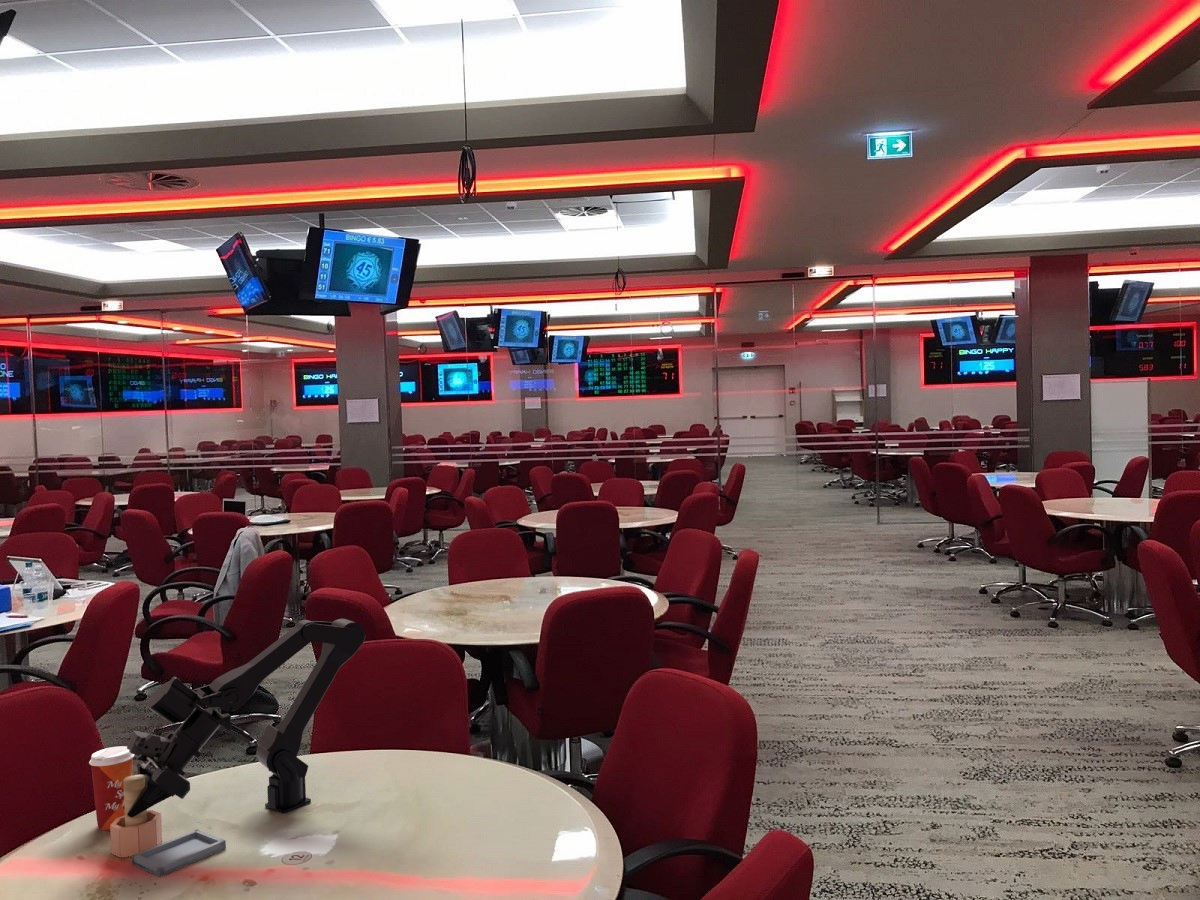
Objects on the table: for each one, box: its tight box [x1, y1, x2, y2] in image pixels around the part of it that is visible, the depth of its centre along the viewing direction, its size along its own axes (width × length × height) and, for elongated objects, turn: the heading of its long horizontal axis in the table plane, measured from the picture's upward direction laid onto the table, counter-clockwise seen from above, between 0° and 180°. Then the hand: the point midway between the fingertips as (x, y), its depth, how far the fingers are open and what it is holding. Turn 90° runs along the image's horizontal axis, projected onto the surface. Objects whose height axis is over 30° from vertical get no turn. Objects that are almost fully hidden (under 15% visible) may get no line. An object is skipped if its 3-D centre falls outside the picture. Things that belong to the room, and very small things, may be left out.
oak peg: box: [123, 774, 148, 827], centre depth 158 cm, size 4×4×12 cm
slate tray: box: [131, 829, 227, 878], centre depth 154 cm, size 12×9×2 cm
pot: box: [109, 809, 163, 858], centre depth 158 cm, size 8×8×5 cm
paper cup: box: [88, 745, 135, 831], centre depth 169 cm, size 8×8×14 cm
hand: (127, 812), depth 158 cm, fingers closed on oak peg, 3 cm apart
